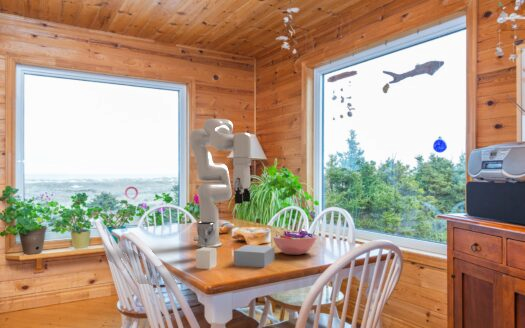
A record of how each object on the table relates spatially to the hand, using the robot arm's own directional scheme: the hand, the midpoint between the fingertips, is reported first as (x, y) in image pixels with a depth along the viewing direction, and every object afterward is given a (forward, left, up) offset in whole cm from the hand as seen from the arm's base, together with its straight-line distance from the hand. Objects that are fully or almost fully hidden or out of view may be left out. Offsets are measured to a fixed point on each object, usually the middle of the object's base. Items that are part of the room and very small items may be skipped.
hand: (242, 202), depth 161 cm
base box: (+6, -2, -25) cm, 25 cm away
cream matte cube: (-10, -14, -24) cm, 30 cm away
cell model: (+18, +18, -25) cm, 35 cm away
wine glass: (-18, +1, -25) cm, 31 cm away
